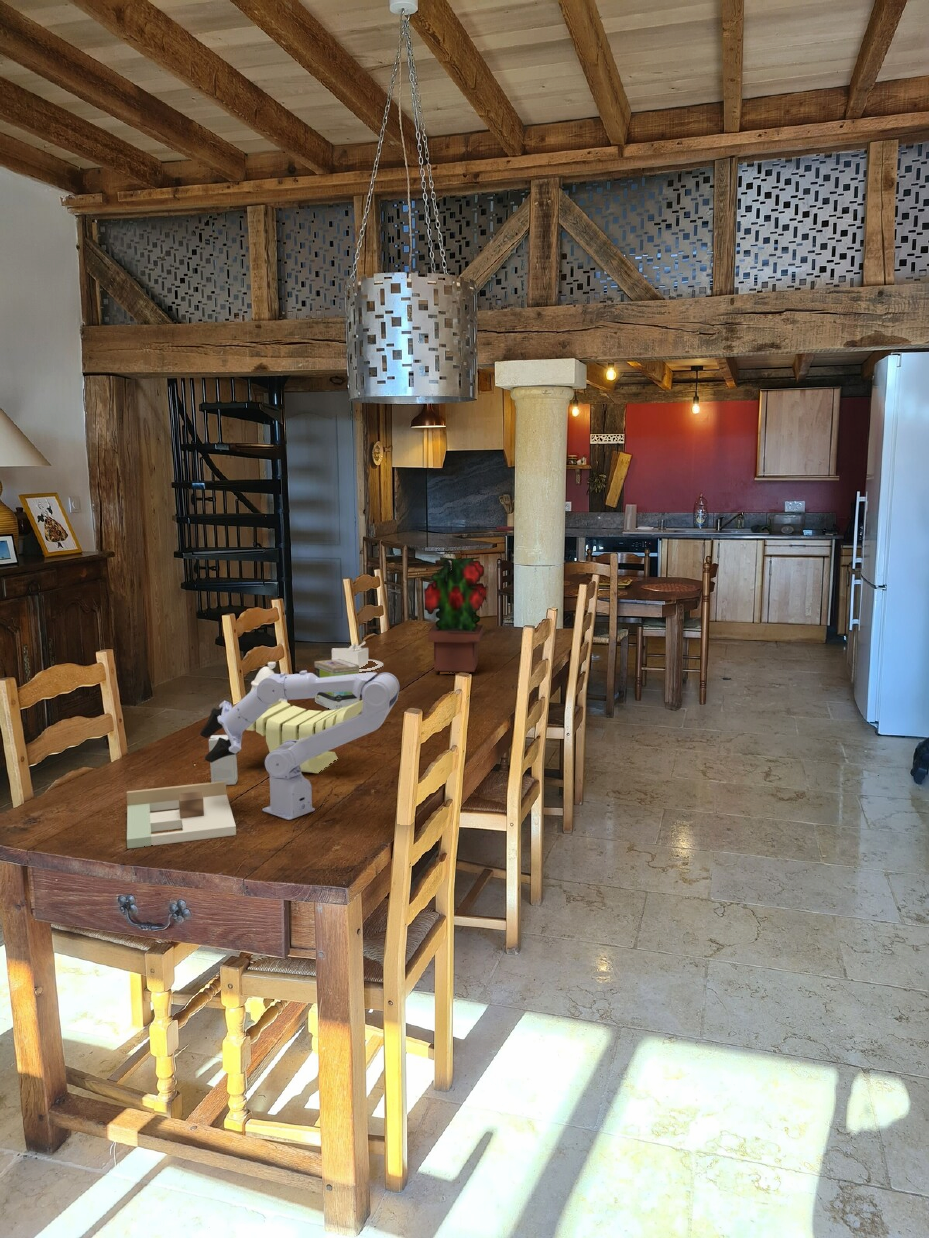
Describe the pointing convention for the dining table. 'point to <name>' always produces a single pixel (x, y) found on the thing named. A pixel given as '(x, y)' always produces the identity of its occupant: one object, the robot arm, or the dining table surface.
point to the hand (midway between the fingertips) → (205, 747)
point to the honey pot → (264, 676)
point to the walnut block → (191, 804)
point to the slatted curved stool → (301, 728)
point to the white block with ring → (355, 656)
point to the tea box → (335, 669)
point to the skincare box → (223, 764)
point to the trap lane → (177, 815)
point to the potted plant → (456, 613)
